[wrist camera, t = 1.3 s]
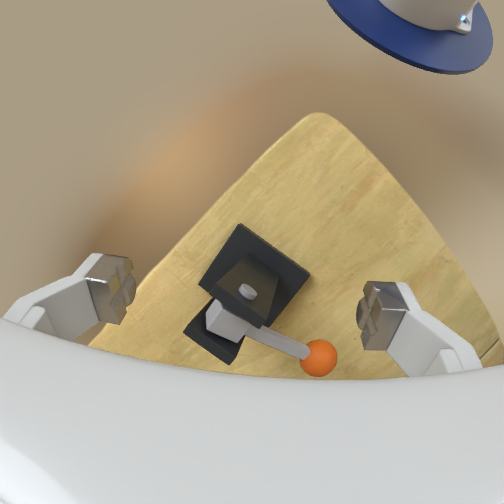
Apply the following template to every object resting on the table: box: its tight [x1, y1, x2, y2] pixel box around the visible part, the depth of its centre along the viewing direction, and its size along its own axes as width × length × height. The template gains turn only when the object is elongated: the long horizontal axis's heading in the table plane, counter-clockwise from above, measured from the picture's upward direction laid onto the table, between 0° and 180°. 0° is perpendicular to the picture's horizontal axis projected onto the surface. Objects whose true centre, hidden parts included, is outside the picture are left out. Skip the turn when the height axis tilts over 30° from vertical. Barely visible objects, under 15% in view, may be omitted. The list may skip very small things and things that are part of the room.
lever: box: [206, 299, 337, 377], centre depth 25 cm, size 13×4×4 cm, turn 55°
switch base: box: [183, 223, 310, 365], centre depth 28 cm, size 10×9×15 cm
